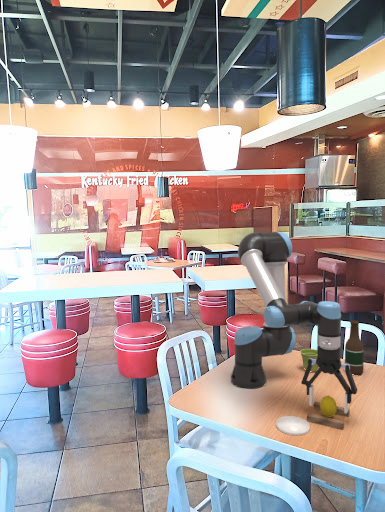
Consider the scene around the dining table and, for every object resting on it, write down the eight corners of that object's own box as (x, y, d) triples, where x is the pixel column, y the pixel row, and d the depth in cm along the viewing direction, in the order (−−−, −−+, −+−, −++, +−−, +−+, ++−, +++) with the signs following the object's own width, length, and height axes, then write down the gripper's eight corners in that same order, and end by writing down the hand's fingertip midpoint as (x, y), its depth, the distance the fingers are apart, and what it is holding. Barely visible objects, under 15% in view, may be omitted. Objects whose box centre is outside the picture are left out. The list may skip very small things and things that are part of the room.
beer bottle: (355, 377, 172) (355, 323, 170) (341, 371, 179) (341, 320, 177) (367, 373, 176) (367, 321, 174) (352, 368, 183) (353, 318, 181)
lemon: (317, 414, 140) (317, 392, 139) (332, 413, 140) (332, 391, 139) (323, 422, 134) (324, 399, 134) (339, 421, 135) (339, 398, 134)
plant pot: (300, 373, 178) (300, 354, 178) (299, 365, 187) (299, 348, 187) (322, 374, 176) (322, 355, 175) (320, 367, 185) (320, 349, 185)
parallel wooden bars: (306, 421, 135) (306, 415, 135) (315, 406, 145) (315, 401, 145) (343, 429, 129) (343, 424, 129) (349, 414, 139) (349, 409, 139)
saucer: (271, 430, 130) (271, 427, 130) (282, 415, 139) (282, 413, 139) (304, 438, 124) (304, 435, 124) (313, 423, 133) (313, 420, 133)
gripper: (292, 344, 138) (292, 404, 140) (364, 355, 126) (363, 420, 128) (298, 339, 144) (298, 396, 146) (367, 348, 132) (366, 411, 134)
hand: (328, 407), depth 137 cm, fingers open, 11 cm apart
